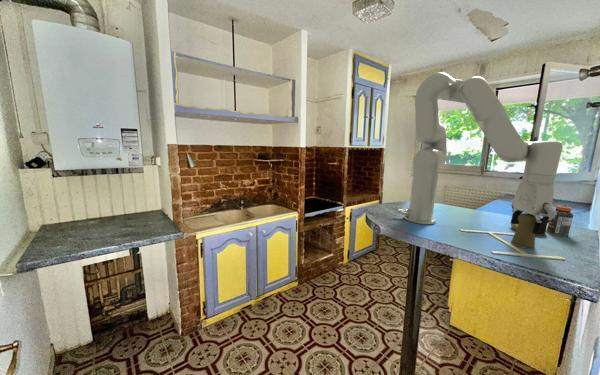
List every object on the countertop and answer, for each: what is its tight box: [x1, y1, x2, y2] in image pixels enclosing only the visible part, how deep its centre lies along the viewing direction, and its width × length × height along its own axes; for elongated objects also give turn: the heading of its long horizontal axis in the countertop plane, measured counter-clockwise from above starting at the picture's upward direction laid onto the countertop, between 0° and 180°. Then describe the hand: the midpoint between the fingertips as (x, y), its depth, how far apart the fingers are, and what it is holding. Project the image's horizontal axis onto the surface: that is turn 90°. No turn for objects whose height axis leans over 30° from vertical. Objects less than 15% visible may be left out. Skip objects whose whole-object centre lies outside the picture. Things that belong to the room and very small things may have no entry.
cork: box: [510, 212, 537, 250], centre depth 82 cm, size 6×6×11 cm
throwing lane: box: [459, 228, 566, 261], centre depth 84 cm, size 20×20×1 cm
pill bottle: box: [546, 204, 574, 237], centre depth 94 cm, size 6×6×11 cm
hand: (526, 228), depth 82 cm, fingers open, 9 cm apart
